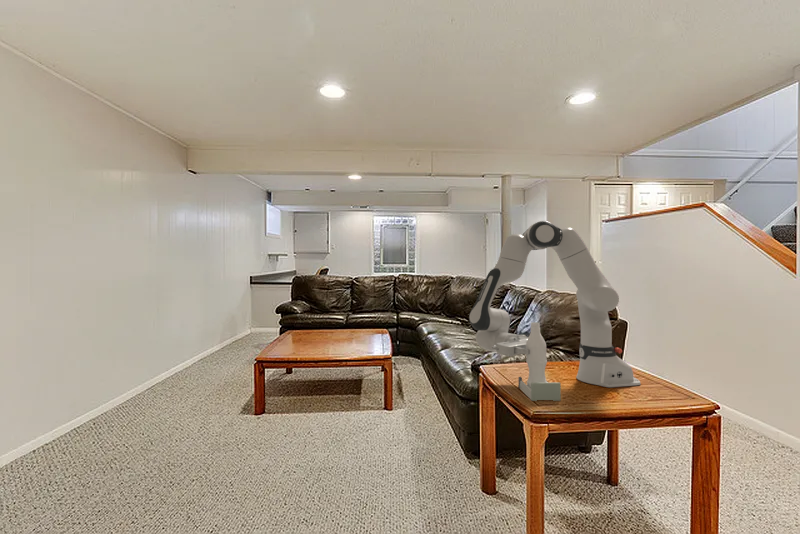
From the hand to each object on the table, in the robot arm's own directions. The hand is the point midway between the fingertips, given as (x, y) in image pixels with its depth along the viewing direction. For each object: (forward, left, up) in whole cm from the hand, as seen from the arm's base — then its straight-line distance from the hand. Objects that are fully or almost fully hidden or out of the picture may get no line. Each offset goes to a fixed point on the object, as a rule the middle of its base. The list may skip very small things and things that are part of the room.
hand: (536, 350), depth 136 cm
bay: (0, +3, -15) cm, 15 cm away
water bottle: (0, +1, -15) cm, 15 cm away
